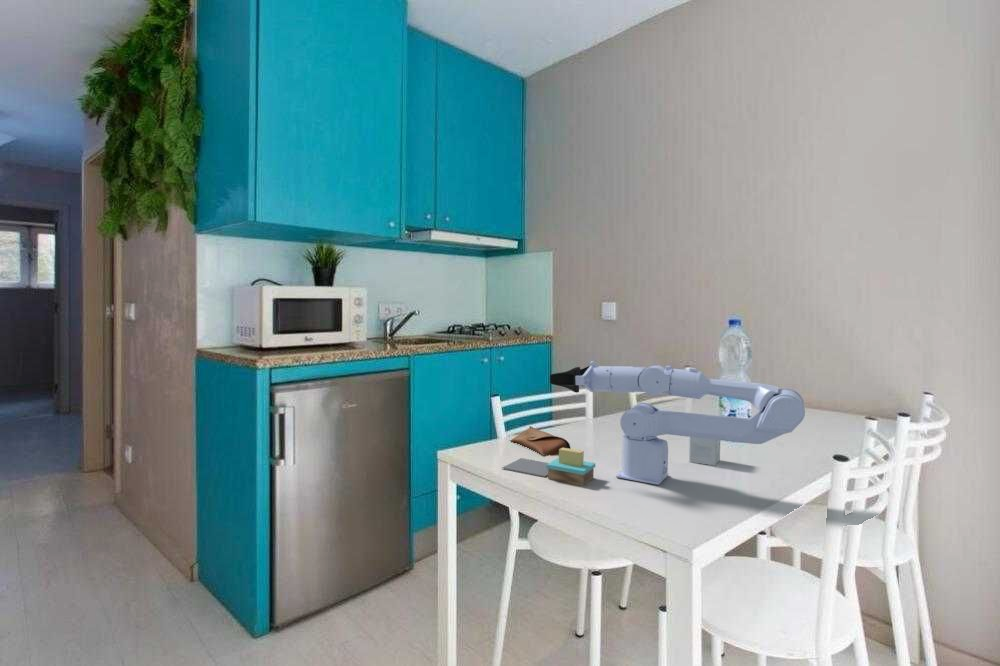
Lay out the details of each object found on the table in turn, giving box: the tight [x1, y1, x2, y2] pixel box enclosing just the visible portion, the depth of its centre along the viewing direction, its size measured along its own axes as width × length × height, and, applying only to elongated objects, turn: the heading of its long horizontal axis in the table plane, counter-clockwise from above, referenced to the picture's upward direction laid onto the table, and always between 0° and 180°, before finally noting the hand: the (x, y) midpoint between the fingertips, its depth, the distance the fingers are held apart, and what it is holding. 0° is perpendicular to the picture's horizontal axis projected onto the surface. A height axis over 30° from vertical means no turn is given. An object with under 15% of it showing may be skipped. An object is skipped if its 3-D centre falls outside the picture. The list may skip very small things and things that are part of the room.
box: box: [547, 467, 595, 486], centre depth 115 cm, size 8×6×2 cm
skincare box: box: [688, 437, 721, 467], centre depth 129 cm, size 6×6×7 cm
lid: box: [546, 448, 596, 475], centre depth 115 cm, size 9×7×4 cm
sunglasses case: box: [509, 425, 571, 457], centre depth 141 cm, size 18×7×7 cm, turn 31°
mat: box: [501, 457, 549, 478], centre depth 122 cm, size 11×9×1 cm
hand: (557, 378), depth 125 cm, fingers open, 7 cm apart
